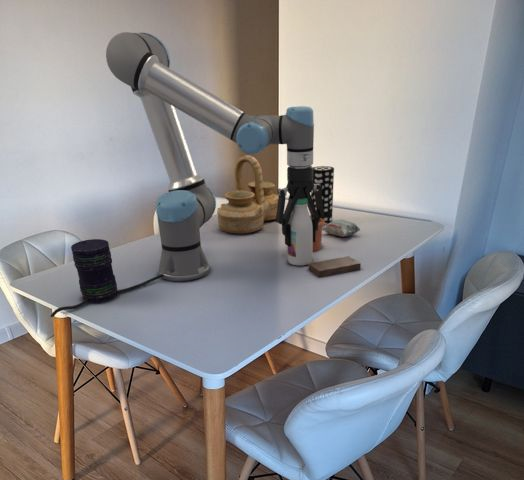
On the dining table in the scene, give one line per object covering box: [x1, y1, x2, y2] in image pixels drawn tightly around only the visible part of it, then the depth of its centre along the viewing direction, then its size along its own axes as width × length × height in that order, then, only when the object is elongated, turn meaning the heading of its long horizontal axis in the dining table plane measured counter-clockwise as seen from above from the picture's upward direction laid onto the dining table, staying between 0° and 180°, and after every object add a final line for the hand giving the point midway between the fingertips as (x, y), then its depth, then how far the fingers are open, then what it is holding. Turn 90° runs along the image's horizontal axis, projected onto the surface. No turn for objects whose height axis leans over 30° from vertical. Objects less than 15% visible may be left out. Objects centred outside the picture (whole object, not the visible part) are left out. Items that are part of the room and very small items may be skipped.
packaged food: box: [322, 219, 361, 238], centre depth 183 cm, size 9×12×5 cm
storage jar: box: [70, 238, 119, 305], centre depth 140 cm, size 10×10×15 cm
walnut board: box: [308, 255, 362, 278], centre depth 155 cm, size 14×7×2 cm, turn 112°
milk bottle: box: [287, 198, 314, 266], centre depth 157 cm, size 8×8×20 cm
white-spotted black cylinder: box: [310, 165, 335, 226], centre depth 194 cm, size 8×8×20 cm
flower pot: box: [310, 215, 325, 252], centre depth 172 cm, size 11×11×9 cm
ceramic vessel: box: [216, 154, 279, 234], centre depth 194 cm, size 34×18×25 cm, turn 154°
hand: (300, 242), depth 158 cm, fingers closed on milk bottle, 8 cm apart
